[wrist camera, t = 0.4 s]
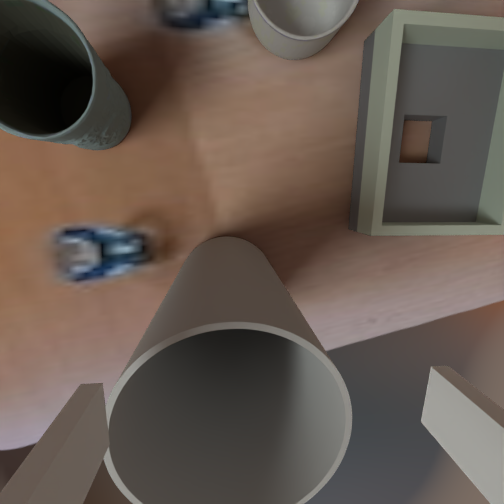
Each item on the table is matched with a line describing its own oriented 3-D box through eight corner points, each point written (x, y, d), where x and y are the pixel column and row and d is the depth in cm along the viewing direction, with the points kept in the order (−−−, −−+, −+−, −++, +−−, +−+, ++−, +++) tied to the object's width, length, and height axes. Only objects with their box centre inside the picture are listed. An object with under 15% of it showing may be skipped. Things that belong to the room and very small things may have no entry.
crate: (364, 41, 33) (394, 8, 27) (498, 49, 35) (553, 21, 29) (348, 229, 38) (370, 235, 32) (466, 228, 40) (507, 234, 34)
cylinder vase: (284, 251, 38) (390, 359, 14) (254, 330, 40) (300, 545, 16) (196, 222, 36) (138, 288, 12) (170, 307, 38) (74, 513, 14)
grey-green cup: (36, 71, 30) (-80, -4, 19) (127, 56, 31) (69, -25, 19) (67, 164, 33) (-19, 149, 21) (151, 149, 33) (111, 126, 22)
